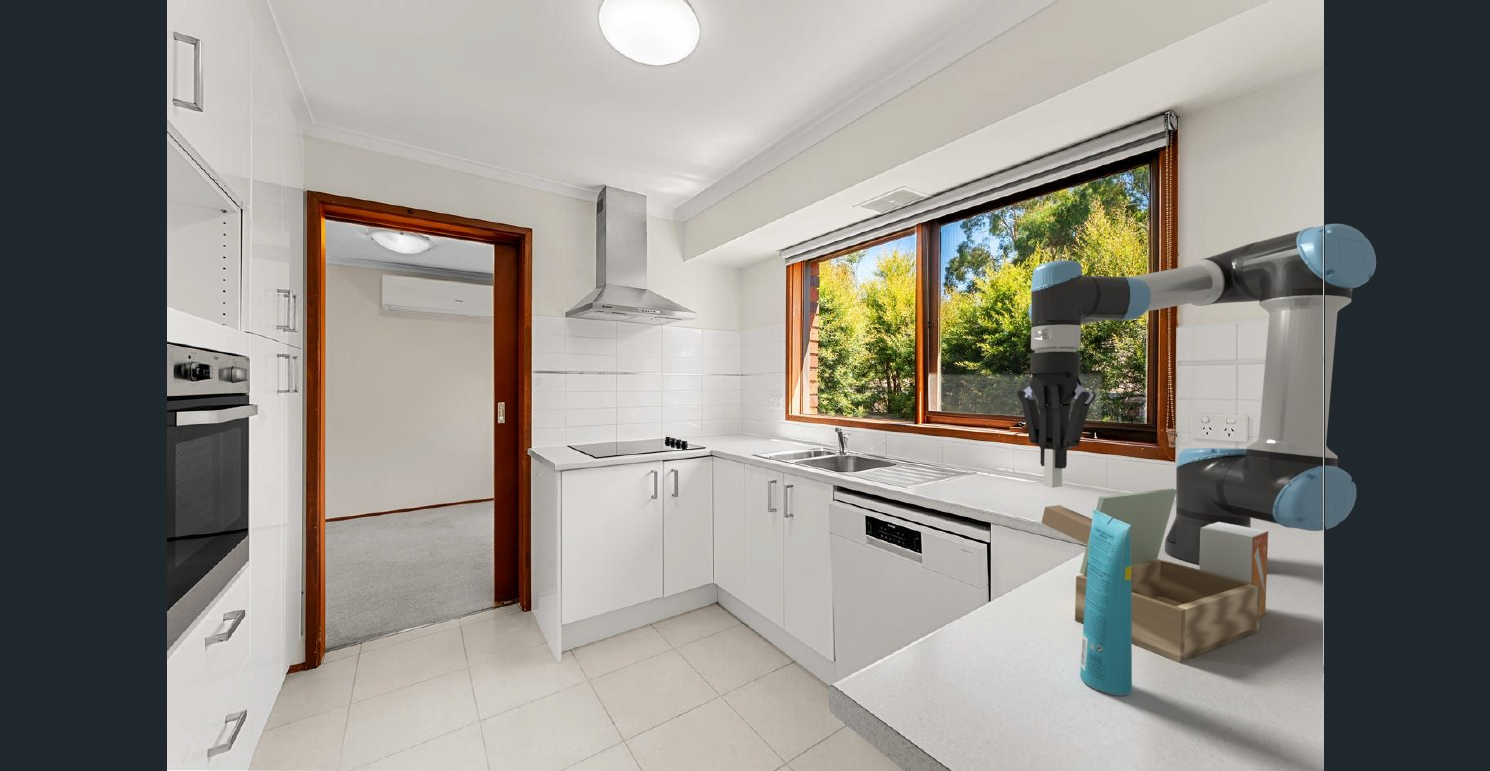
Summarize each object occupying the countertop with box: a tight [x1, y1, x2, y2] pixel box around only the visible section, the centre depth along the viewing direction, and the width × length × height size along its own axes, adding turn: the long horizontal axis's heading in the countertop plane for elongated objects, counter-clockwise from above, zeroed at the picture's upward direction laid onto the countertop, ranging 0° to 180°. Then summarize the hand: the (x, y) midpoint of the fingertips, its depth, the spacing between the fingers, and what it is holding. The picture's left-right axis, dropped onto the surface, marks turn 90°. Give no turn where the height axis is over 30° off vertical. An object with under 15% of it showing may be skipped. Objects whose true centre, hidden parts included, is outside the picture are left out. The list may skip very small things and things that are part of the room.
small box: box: [1198, 522, 1269, 617], centre depth 83 cm, size 8×6×13 cm
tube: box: [1079, 508, 1133, 696], centre depth 61 cm, size 7×5×19 cm, turn 178°
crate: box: [1074, 558, 1261, 664], centre depth 77 cm, size 22×13×6 cm, turn 117°
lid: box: [1041, 488, 1177, 575], centre depth 87 cm, size 20×12×13 cm
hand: (1052, 486), depth 93 cm, fingers closed
